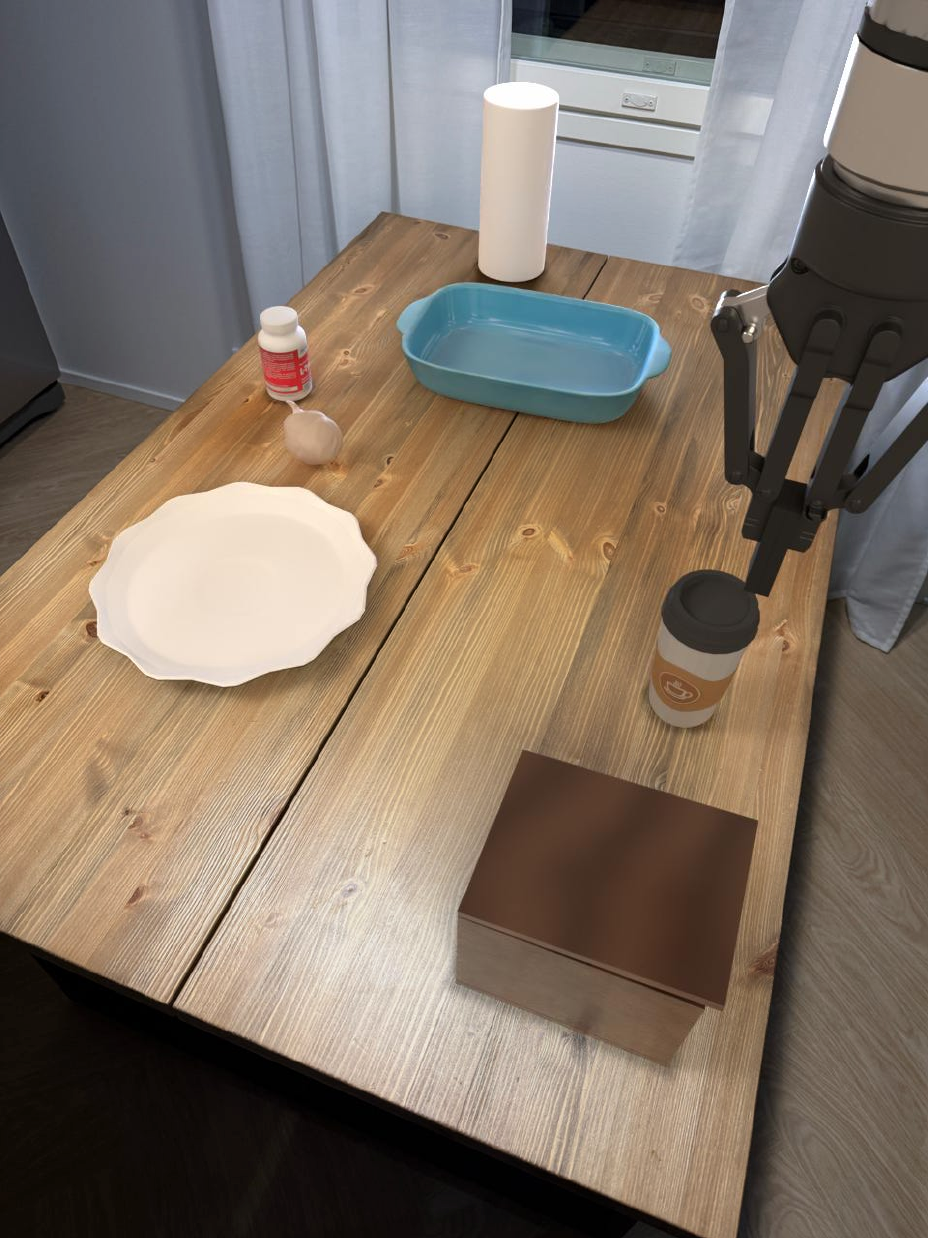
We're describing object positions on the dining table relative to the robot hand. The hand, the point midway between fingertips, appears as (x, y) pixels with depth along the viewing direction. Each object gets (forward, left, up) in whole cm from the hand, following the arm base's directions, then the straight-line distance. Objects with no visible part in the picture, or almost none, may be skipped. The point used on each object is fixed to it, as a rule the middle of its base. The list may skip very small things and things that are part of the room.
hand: (759, 578), depth 53 cm
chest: (-1, +12, -32) cm, 35 cm away
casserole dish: (+54, -44, -33) cm, 77 cm away
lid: (-1, +12, -19) cm, 23 cm away
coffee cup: (+7, -13, -33) cm, 36 cm away
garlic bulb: (+61, -12, -33) cm, 70 cm away
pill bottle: (+75, -19, -33) cm, 84 cm away
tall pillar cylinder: (+77, -66, -33) cm, 106 cm away
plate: (+50, +8, -33) cm, 60 cm away
